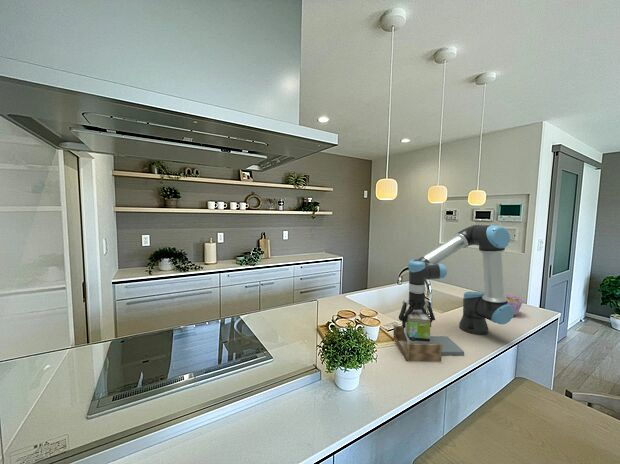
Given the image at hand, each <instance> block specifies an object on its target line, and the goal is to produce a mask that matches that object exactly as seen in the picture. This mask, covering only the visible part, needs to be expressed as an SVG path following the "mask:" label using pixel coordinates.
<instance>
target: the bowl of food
mask: <svg viewBox="0 0 620 464" xmlns="http://www.w3.org/2000/svg"><path fill="white" fill-rule="evenodd" d="M504 296H505V297H506V298H507V299H508V305H510V306H512V307H513V309H514V315H516V314H518V313H520V310H521V307H522V305H523V302H524V300H523V299H522V298H520V297H517V296H515V295H511V294H506V293H504Z"/></svg>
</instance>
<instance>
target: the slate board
mask: <svg viewBox="0 0 620 464" xmlns="http://www.w3.org/2000/svg"><path fill="white" fill-rule="evenodd" d="M438 343H441V344H442V354H441V357H443V356H446V357H447V356H448V357H449V356H452V357H455V356H457V357H459V356H461V357H464V356H465V351H464V350H463V349H462V348H461V347H460V346H459V345H457V344H456V343H455V342H454V341H453V340H452V339H451V338H450V337H449V336H446V335H430V344H438Z"/></svg>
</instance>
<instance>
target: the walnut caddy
mask: <svg viewBox="0 0 620 464" xmlns="http://www.w3.org/2000/svg"><path fill="white" fill-rule="evenodd" d="M392 332H393V337H392V338H393V339H394V340H395V342H396V343H395V342H394V343H395V345H396V346H397V348H398V350H399V351H400V353H401V354H402V355H403V357H404V359H405V361H406V362H442V356H441V354H442V344H441V343H438V344H410V343H408V342H407V339H406V336H405V333H404V328H403V327H402V325H396V324H394V325H393V331H392ZM393 339H392V340H393ZM394 340H393V341H394ZM401 342H406V343H405V344H406V345H405V347H403V345H402V344H401Z"/></svg>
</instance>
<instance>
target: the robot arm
mask: <svg viewBox="0 0 620 464" xmlns="http://www.w3.org/2000/svg"><path fill="white" fill-rule="evenodd" d="M510 241H511V236H510V233H509V230H507V228H505V227H504V226H501V225H491V224H489V225H488V224H474V225H473V224H472V225H470V226H468V227H465V228H463V229H462V230H459V231H458V232H457V233H455V234H454V235H453V237H451V238H450V239H449V240H447V241H445V242H443V243H442V244H440V245H439V246H437V247H436V248H434V249H433V250H431V251H429V252H428V253H426V254H424V255H422V256H421V257H419V258H417V259H416V258H415V259H414V258H412V259H411V260H409V262H408V264H407V267H408V282H409V283H408V301H405V300H403V301H402V306H401V309H400V311H399V315H398V320H399V321H400V322H401V326H402V327H403V328H404V333H405V334H406V335H407V321H406V320H407V319H408V315H409V314H411V312H412V311H413V310H422V312H423V313H424V314H427V315H428V317H429V318H430V328H432V323H433V321H436V317H435V313H434V310H433V308H432V302H431V301H429V300H427V301H425V299H426V293H425V292H426V291H425V290H426V289H425V288H426V280H437V279H438V280H439V279H445V277H446V276H447V274H448V270H447V268H446V266H445V265H444V264H443V263H440V262H442V261H444V260H445V259H446V258H448V257H450V256H451V255H453V254H455V253H456V252H458V251H459V250H461V249H466V248H468V247H469V246H474V245H475V246H478V251H479V252H481V253H482V268H483V282H484V283H483V284H484V285H483V286H484V292H482V291H481V292H480V291H466V292H464V293H463V298H462V299H463V302H462V317H461V319H460V321H459V324H458V325H459V327H458V328H459V329H461V331H464V332H466V333H468V334H472V335H478V336H483V335H485V336H486V335H488V334H489V327H488V323H487V320H488V321H490V322H492V323H495V324H499V325H506V324H508V323H509V322H510V321H511V320H512V319H513V317H514V315H515V314H514V309H513V307H512V306H510V305H508V299H507V298H506V297H505V296H504V294H505V292H504V273H503V257H502V256H503V255H502V254H503V253H504V251H505V250H506V248H507V247H508V246H509V243H510ZM424 306H426V308H427V310H426V309H425V307H424ZM406 308H408V310H407V312H406V313H405V311H406ZM427 311H428V312H427Z"/></svg>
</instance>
